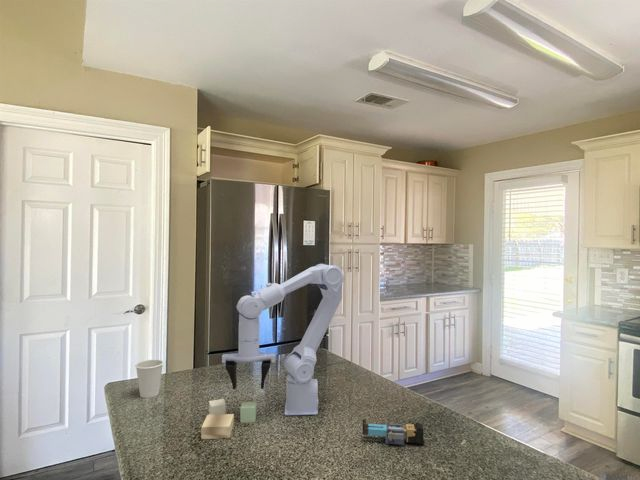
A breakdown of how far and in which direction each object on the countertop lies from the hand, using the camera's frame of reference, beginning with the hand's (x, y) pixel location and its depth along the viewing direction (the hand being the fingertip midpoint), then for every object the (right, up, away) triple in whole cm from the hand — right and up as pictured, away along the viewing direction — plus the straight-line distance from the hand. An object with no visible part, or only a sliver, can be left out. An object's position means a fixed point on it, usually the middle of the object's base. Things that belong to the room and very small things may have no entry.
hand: (248, 387), depth 108 cm
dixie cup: (-35, -9, +17) cm, 40 cm away
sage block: (0, -9, 0) cm, 9 cm away
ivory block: (-9, -9, +1) cm, 13 cm away
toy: (+38, -9, -12) cm, 41 cm away
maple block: (-7, -9, -7) cm, 13 cm away
